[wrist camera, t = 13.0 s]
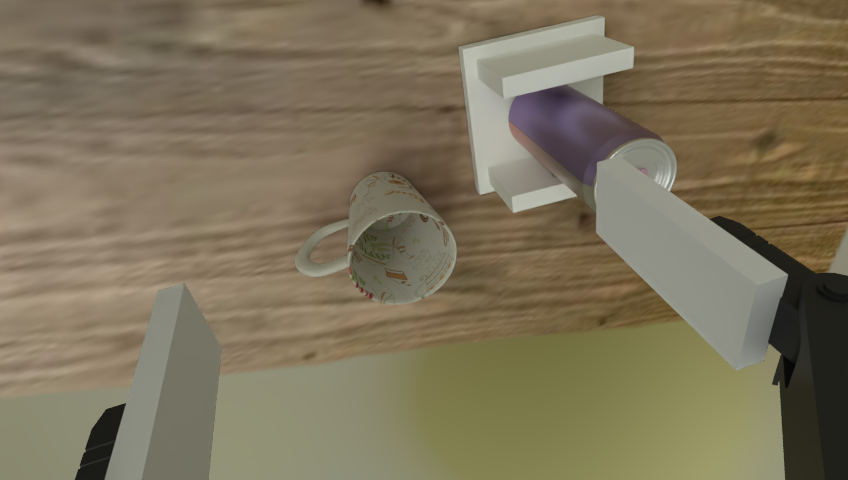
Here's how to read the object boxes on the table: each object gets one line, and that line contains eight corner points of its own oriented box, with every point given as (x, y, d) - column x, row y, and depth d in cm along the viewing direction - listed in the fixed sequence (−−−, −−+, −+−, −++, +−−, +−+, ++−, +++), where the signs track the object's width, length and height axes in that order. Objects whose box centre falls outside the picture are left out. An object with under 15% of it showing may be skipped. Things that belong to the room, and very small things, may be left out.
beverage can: (505, 81, 43) (596, 144, 30) (573, 71, 44) (688, 128, 31) (505, 149, 46) (587, 232, 33) (568, 139, 47) (671, 216, 34)
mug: (438, 221, 50) (469, 280, 41) (315, 270, 49) (321, 340, 41) (411, 144, 45) (439, 193, 37) (275, 198, 45) (272, 260, 36)
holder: (475, 189, 49) (502, 226, 43) (458, 46, 42) (487, 66, 36) (594, 158, 50) (637, 190, 44) (597, 15, 43) (647, 29, 37)
